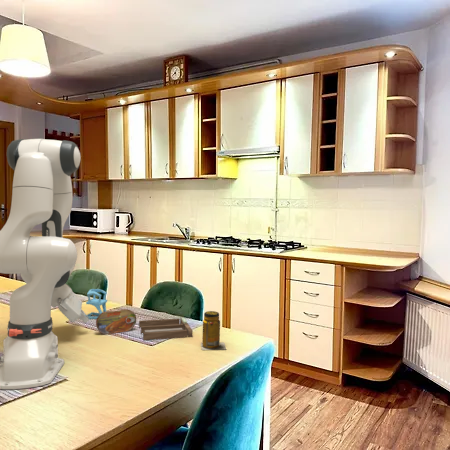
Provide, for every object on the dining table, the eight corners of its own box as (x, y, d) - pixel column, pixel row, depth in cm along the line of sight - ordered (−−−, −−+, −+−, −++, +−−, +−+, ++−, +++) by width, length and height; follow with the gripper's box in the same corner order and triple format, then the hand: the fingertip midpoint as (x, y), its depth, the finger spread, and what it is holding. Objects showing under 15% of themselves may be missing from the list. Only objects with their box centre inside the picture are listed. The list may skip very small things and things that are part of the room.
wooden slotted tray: (192, 337, 157) (192, 328, 156) (143, 340, 151) (143, 331, 151) (183, 324, 172) (183, 316, 172) (139, 326, 167) (139, 319, 166)
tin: (97, 335, 155) (97, 313, 154) (94, 333, 157) (95, 311, 157) (136, 330, 162) (136, 308, 162) (133, 328, 165) (134, 307, 165)
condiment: (200, 343, 151) (201, 310, 150) (224, 342, 151) (225, 310, 151) (201, 350, 143) (202, 315, 143) (226, 350, 144) (227, 315, 143)
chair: (101, 320, 173) (102, 292, 173) (83, 319, 175) (83, 290, 174) (109, 315, 181) (110, 288, 180) (91, 314, 182) (92, 286, 182)
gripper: (64, 295, 144) (93, 322, 147) (67, 283, 163) (93, 307, 167) (49, 309, 143) (80, 335, 146) (55, 295, 162) (81, 319, 166)
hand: (87, 320), depth 157 cm, fingers closed
